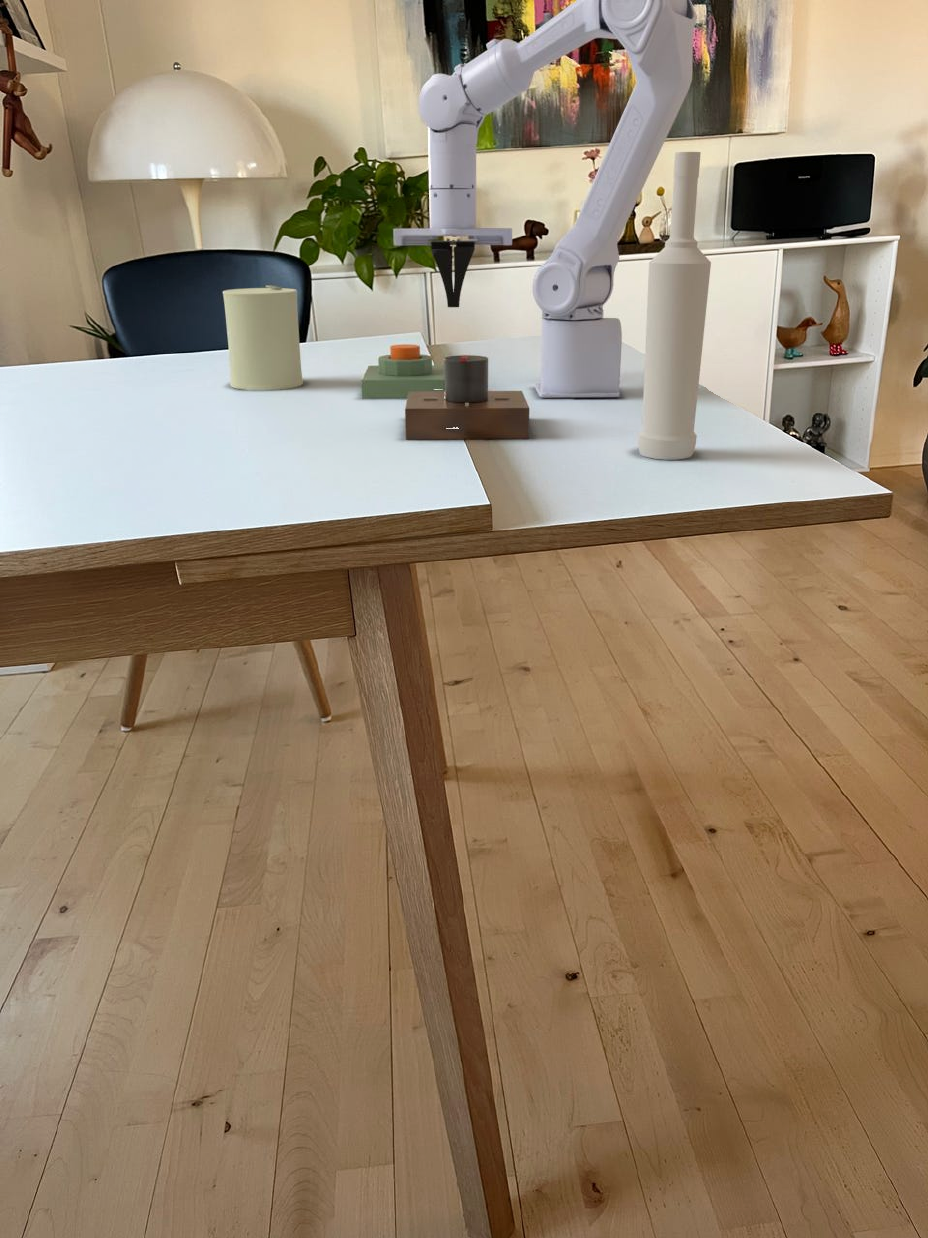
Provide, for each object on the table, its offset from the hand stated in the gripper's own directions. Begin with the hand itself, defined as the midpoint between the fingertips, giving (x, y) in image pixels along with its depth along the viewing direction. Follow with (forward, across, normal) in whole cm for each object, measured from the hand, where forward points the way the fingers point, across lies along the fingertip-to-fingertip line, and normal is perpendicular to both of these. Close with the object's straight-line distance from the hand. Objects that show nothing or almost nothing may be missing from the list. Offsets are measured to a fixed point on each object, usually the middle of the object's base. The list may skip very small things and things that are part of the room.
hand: (453, 306), depth 127 cm
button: (+6, -6, -6) cm, 10 cm away
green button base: (+9, -6, -6) cm, 13 cm away
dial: (+6, +2, -30) cm, 31 cm away
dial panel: (+9, +2, -30) cm, 31 cm away
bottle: (+10, +21, -41) cm, 47 cm away
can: (+10, -24, -2) cm, 26 cm away
